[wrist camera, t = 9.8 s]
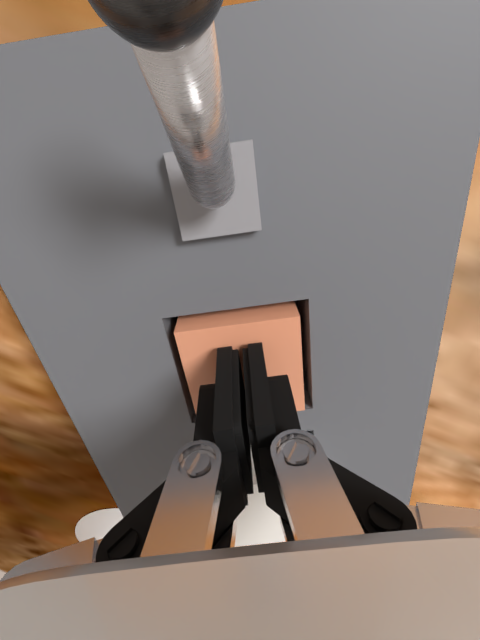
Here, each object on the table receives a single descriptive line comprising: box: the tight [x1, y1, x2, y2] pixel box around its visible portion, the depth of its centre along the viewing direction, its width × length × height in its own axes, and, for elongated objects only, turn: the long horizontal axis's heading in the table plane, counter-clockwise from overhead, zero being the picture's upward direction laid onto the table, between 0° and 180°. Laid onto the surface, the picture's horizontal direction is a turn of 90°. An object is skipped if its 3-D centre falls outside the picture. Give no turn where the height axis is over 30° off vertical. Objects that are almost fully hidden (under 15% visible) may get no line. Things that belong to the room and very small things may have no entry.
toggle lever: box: [88, 0, 235, 209], centre depth 6 cm, size 2×2×6 cm
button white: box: [235, 446, 285, 547], centre depth 15 cm, size 4×4×2 cm
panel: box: [0, 0, 480, 517], centre depth 14 cm, size 21×15×4 cm
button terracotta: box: [174, 301, 305, 413], centre depth 14 cm, size 4×4×2 cm
